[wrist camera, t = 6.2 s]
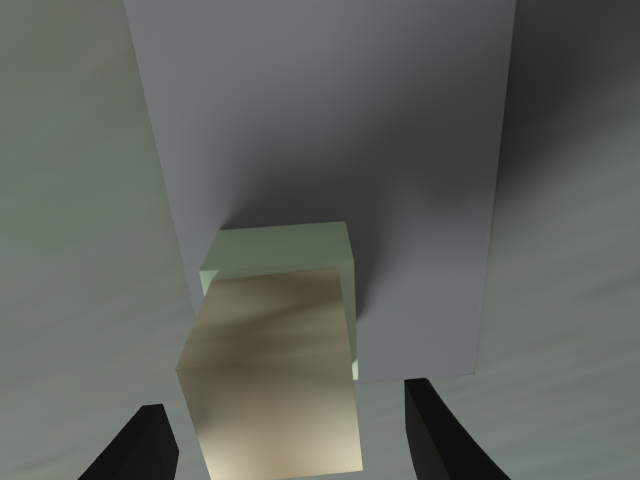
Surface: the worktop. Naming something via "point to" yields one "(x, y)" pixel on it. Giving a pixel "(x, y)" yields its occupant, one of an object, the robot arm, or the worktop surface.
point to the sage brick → (286, 259)
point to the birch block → (272, 377)
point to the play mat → (341, 148)
